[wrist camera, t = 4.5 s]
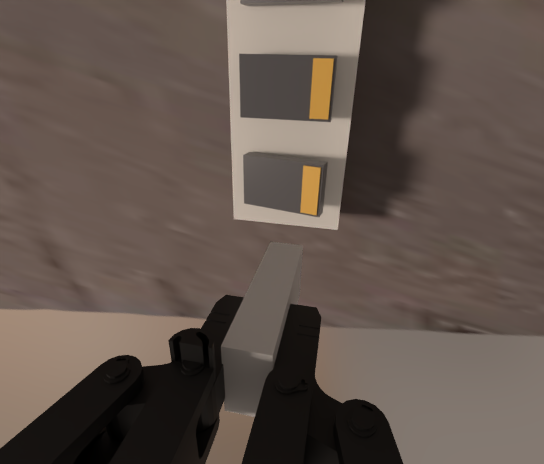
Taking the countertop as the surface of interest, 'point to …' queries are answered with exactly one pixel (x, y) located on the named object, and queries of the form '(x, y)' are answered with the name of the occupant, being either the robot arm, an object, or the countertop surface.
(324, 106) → the rocker middle
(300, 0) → the rocker
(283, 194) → the block
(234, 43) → the rocker switch panel
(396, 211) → the countertop surface
